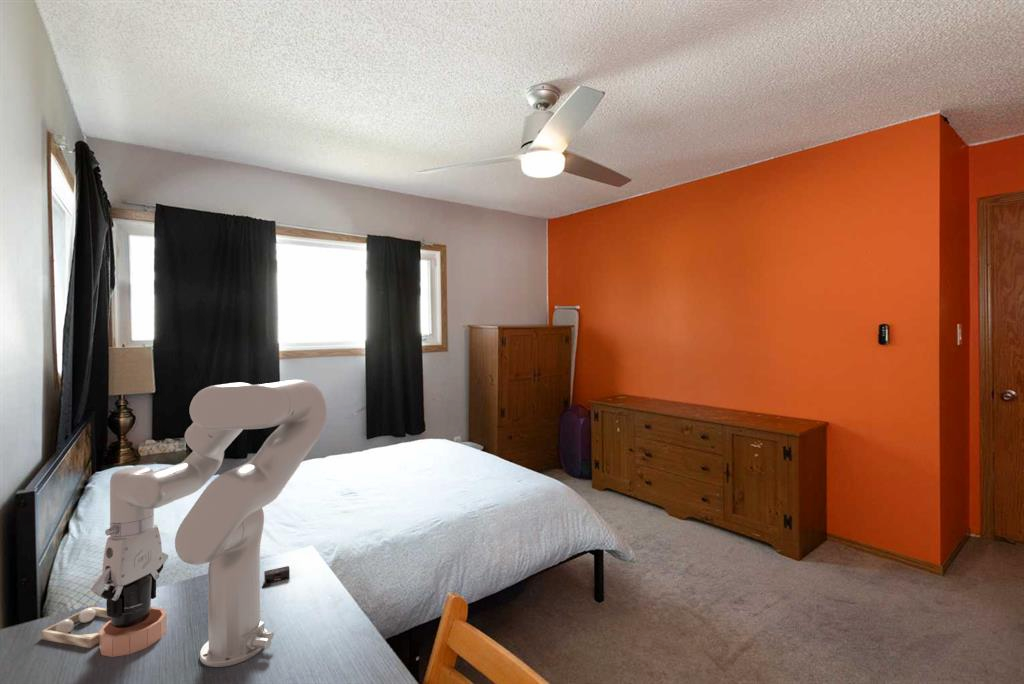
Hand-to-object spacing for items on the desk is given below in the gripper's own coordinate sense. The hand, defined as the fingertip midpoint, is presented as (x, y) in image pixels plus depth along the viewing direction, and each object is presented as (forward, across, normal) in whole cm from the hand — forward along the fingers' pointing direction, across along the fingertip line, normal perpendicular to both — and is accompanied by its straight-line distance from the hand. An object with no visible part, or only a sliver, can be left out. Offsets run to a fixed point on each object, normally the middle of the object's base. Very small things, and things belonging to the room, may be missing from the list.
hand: (132, 606), depth 105 cm
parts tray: (+8, 0, +13) cm, 15 cm away
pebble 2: (+7, +3, +17) cm, 19 cm away
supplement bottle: (+3, 0, 0) cm, 3 cm away
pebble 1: (+7, -2, +17) cm, 19 cm away
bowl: (+7, 0, 0) cm, 7 cm away
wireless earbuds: (+8, +28, -13) cm, 32 cm away
